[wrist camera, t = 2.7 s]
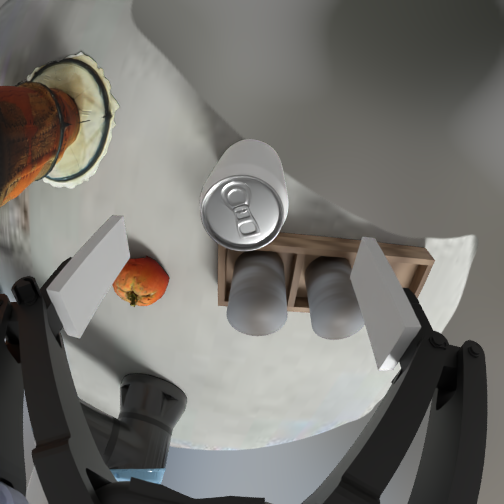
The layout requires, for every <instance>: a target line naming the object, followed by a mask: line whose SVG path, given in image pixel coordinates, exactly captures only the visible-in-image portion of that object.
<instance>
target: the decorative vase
mask: <svg viewBox="0 0 504 504" xmlns="http://www.w3.org/2000/svg"><path fill="white" fill-rule="evenodd" d="M110 88H111V86H110V83H109V81H108V80H107V79H106V78H105V77H104V74H103V69H102V68H100V69H98V68H97V63H96V62H95V61H93V60H92V59H91V58H90V57H88V56H85V55H84V54H83V53H82V52H80V53H79V54H77V55H73V54H72V55H70V56H68V57H66V58H65V59H63V60H61V61H59V62H57V61H52V62H49V63H47V64H46V65H43V66H41V67H40V68H38V67H36V68H35V70H34V71H33V73H32V74H31V75H30V76H29V74H28V76H27V81H26V82H25V83H21V82H20V84H19V83H18V84H17V85H16V86H0V207H1V206H3V205H4V204H6V203H7V202H8V201H9V200H11V199H13V198H15V197H17V196H18V195H19V194H20V193H21V192H22V191H23V190H24V189H25V188H26V187H28V186H29V185H30V184H31V183H32V182H34V181H38V180H40V179H43V181H44V183H50V184H51V185H52V186H53V187H59V188H62V187H63V186H65V187H68V188H71V189H73V188H74V187H75V186H76V185H78V184H82V182H83V180H85V181H88V179H89V177H90V176H92V175H94V174H95V173H96V170H97V168H98V165H99V163H100V161H101V159H102V158H103V157H104V156H105V154H106V153H107V149H108V146H109V143H110V141H111V138H112V133H111V130H112V129H113V128H114V127H115V126H116V124H115V122H114V120H113V119H114V114H115V111H116V110H117V109H118V108H119V105H118V103H117V102H116V100H115V99H114V98H113V96H112V95H111V94H110Z"/></svg>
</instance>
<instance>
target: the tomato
mask: <svg viewBox="0 0 504 504" xmlns="http://www.w3.org/2000/svg"><path fill="white" fill-rule="evenodd" d="M168 282H169V276H168V275H167V274H166V272H165V271H164V270H163V269H162V267H161V266H160V265H159V264H158V263H157V262H156V261H155V260H153V259H152V258H150V257H148V256H146V258H138V259H129V260H128V261H127V263H126V264H125V266H124V267H123V269H122V270H121V272H120V273H119V275H118V276H117V278H116V279H115V281H114V283H113V288H114V291H115V292H116V294H117V295H118V296H120V298H121V299H123V300H125V301H128V302H129V303H130V305H131V306H134V307H135V305H138V306H147V305H151V304H152V303H154V302H156V301H157V300H158V299H160V298H161V297H162V296H163V295H164V293H165V291H166V288H167V285H168Z"/></svg>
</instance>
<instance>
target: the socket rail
mask: <svg viewBox="0 0 504 504" xmlns="http://www.w3.org/2000/svg"><path fill="white" fill-rule="evenodd" d="M360 242H361V240H352V239H342V238H333V237H323V236H313V235H302V234H292V233H281V232H279V233H278V235H277V236H276V237H275V238H274V239H273V240H272V241H271V242H270V243H269V244H267V245H266V246H264V247H262V248H259V249H256V250H252V251H235V250H231V249H228V248H225V247H223V246H221V245H220V244H218V306H228V307H227V319H228V321H229V323H230V324H231V325H232V327H234V328H235V329H236V330H238V331H239V332H241V333H244V334H247V335H252V336H264V335H269V334H272V333H274V332H276V331H278V330H279V329H281V328H282V327H283V325H284V324H285V322H286V320H287V311H291V312H308V313H310V316H311V323H312V328H313V330H314V332H315V333H316V334H317V335H318V336H320V337H322V338H325V339H330V340H337V339H343V338H347V337H349V336H351V335H353V334H355V333H357V332H358V331H359V330H360V329H361V328H362V327H363V326H364V325H365V322H364V319H363V316H362V313H361V309H360V306H359V303H358V300H357V297H356V294H355V291H354V288H353V285H352V282H351V279H350V275H351V272H352V269H353V265H354V262H355V259H356V256H357V253H358V249H359V246H360ZM377 243H378V245H379V246H380V248H381V250H382V251H383V253H384V255H385V257H386V259H387V260H388V262H389V264H390V266H391V268H392V269H393V271H394V273H395V275H396V277H397V279H398V281H399V283H400V284H401V286H402V288H409V289H410V290H411V291H412V292H413V293H414V294H415V295H416V297H417V298H418V296H419V294H420V292H421V290H422V288H423V286H424V284H425V282H426V279H427V277H428V275H429V273H430V271H431V268H432V266H433V264H434V261H435V260H434V259H433V257H432V256H431V255H430V253H429V252H428V251H427V249H426V248H422V247H414V246H405V245H397V244H388V243H379V242H377Z"/></svg>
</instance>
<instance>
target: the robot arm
mask: <svg viewBox="0 0 504 504" xmlns="http://www.w3.org/2000/svg"><path fill="white" fill-rule="evenodd" d="M129 258H130V252H129V247H128V241H127V235H126V228H125V222H124V216H117V215H112V216H111V217H110V218H109V219H108V220H107V221H106V222H105V223H104V224H103V225H102V226H101V227H100V228H99V229H98V230H97V231H96V232H95V233H94V234H93V236H92V237H91V238H90V239H89V240H88V241H87V242H86V243H85V244H84V245H83V246H82V247H81V249H80V250H79V251H78V252H77V253H76V254H75V255H74V256H73V258H72V257H70V258H68V259H67V260H65V261H64V262H62V263H61V265H60V266H59V267H58V268H57V270H55V272H54V273H53V275H51V276H50V278H49V279H48V280H47V281H46V282H45V284H44V285H43V286H42V287H41V289H40V290H39V287H38V285H37V283H36V280H35V278H33V277H30V276H27V277H23V278H21V279H19V280H18V281H17V282H15V284H14V285H13V286H12V293H13V295H14V297H15V299H16V301H17V302H10V300H9V298H8V296H7V295H5V294H0V504H271V503H268V502H265V498H254V497H253V498H252V497H238V496H226V497H216V498H204V499H194V498H190V497H188V496H186V495H183V494H181V493H179V492H176V491H174V490H172V489H170V488H167V487H165V486H163V485H161V482H162V478H163V474H164V471H165V466H166V461H167V456H168V451H169V445H170V440H171V435H172V431H173V428H174V426H175V425H176V423H177V422H178V420H179V419H180V417H181V416H182V414H183V413H184V411H185V409H186V404H187V397H186V395H185V394H184V393H183V392H182V391H181V390H180V389H179V388H177V387H176V386H174V385H173V384H171V383H169V382H167V381H164V380H162V379H159V378H157V377H153V376H149V375H144V374H130V375H127V376H125V377H124V378H123V381H122V384H121V386H120V414H119V417H118V419H116V418H114V417H112V416H110V415H108V414H106V413H104V412H102V411H101V410H99V409H97V408H95V407H93V406H92V405H90V404H88V403H86V402H85V401H83V400H81V399H80V398H79V397H78V396H77V392H76V389H75V386H74V383H73V379H72V376H71V372H70V368H69V364H68V361H67V357H66V352H65V348H64V344H63V339H62V336H61V334H60V330H61V329H62V327H64V329H65V331H66V333H67V335H69V336H72V337H76V338H81V336H82V334H83V332H84V331H85V329H86V327H87V325H88V324H89V322H90V320H91V318H92V317H93V315H94V313H95V312H96V310H97V308H98V307H99V305H100V303H101V302H102V300H103V298H104V297H105V295H106V294H107V292H108V290H109V289H110V287H111V286H112V284H113V283H114V281H115V279H116V278H117V276H118V275H119V273H120V272H121V270H122V269H123V267H124V266H125V264H126V263H127V261H128V260H129ZM350 279H351V282H352V285H353V288H354V291H355V294H356V297H357V300H358V303H359V306H360V309H361V313H362V316H363V319H364V322H365V325H366V329H367V332H368V335H369V339H370V342H371V346H372V349H373V353H374V356H375V360H376V364H377V367H378V371H380V370H393V369H394V368H395V366H396V365H397V364H398V362H400V366H401V370H400V371H399V372H398V374H397V375H396V376H395V378H394V379H393V380H392V382H391V383H392V385H391V387H390V388H389V390H388V392H387V394H386V395H385V397H384V399H383V400H382V402H381V404H380V405H379V407H378V408H377V410H376V412H375V413H374V415H373V417H372V418H371V419H370V421H369V422H368V424H367V425H366V427H365V428H364V430H363V431H362V433H361V434H360V436H359V437H358V438H357V440H356V441H355V443H354V444H353V446H352V447H351V448H350V449H349V451H348V452H347V453H346V455H345V456H344V457H343V459H342V460H341V461H340V463H339V464H338V465H337V466H336V468H335V469H334V470H333V471H332V472H331V473H330V475H329V476H328V477H327V478H326V480H325V481H324V482H323V483H322V484H321V486H319V488H318V489H317V490H316V491H315V492H314V493H313V494H311V495H310V496H309V497H308V498H307V499H306V500H305V501H304V502H303V503H302V504H380V500H379V498H380V495H381V494H382V492H383V491H384V489H385V488H386V486H387V485H388V483H389V481H390V480H391V478H392V477H393V475H394V473H395V471H396V470H397V468H398V466H399V465H400V463H401V461H402V459H403V458H404V456H405V454H406V452H407V450H408V448H409V447H410V444H411V443H412V441H413V439H414V437H415V435H416V433H417V431H418V428H419V426H420V424H421V422H422V420H423V418H424V416H425V413H426V411H427V409H428V406H429V404H430V401H431V399H432V403H431V410H430V416H429V423H428V428H427V433H426V438H425V443H424V448H423V452H422V457H421V460H420V465H419V468H418V472H417V475H416V479H415V482H414V486H413V489H412V492H411V495H410V498H409V501H408V504H477V499H478V495H479V490H480V485H481V479H482V472H483V466H484V457H485V448H486V434H487V379H486V364H485V354H484V351H483V349H482V347H481V346H480V345H479V344H478V343H476V342H474V341H471V340H468V341H465V343H464V344H463V345H462V346H461V347H457V346H453V345H449V343H448V341H447V339H446V338H445V337H444V336H443V335H442V334H441V333H439V332H436V331H433V329H432V327H431V325H430V323H429V321H428V319H427V317H426V315H425V313H424V311H423V310H422V307H421V305H420V304H419V301H418V299H417V297H416V295H415V294H414V293H413V292H412V291H411V290H410V289H409V288H402V286H401V284H400V283H399V281H398V279H397V277H396V275H395V273H394V271H393V269H392V268H391V266H390V264H389V262H388V260H387V259H386V257H385V255H384V253H383V251H382V250H381V248H380V246H379V245H378V243H377V241H376V239H375V238H371V237H362V239H361V242H360V246H359V249H358V253H357V256H356V259H355V262H354V265H353V269H352V272H351V275H350ZM5 339H6V342H5ZM24 390H25V396H26V402H27V407H28V412H29V417H30V421H31V426H32V427H31V429H32V431H33V434H34V438H35V440H34V442H35V445H36V448H35V449H33V450H32V458H33V462H34V468H33V471H32V474H31V478H30V481H29V484H28V488H27V491H26V473H25V462H24V447H23V397H24ZM117 481H119V482H117Z"/></svg>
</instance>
